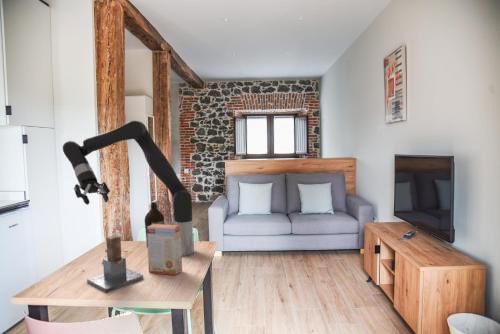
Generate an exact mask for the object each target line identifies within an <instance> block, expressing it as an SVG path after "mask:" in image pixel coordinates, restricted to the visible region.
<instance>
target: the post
mask: <svg viewBox="0 0 500 334" xmlns="http://www.w3.org/2000/svg"><path fill="white" fill-rule="evenodd" d="M105 239H106V248H107V252H106V255H107V260H110V261H114V260H118V259H121V256H122V240H121V236H119V235H117V234H116V235H114V234H113V235H110V236H107V237H105Z"/></svg>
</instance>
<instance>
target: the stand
mask: <svg viewBox="0 0 500 334" xmlns="http://www.w3.org/2000/svg"><path fill="white" fill-rule="evenodd" d="M104 258H105V257H104ZM104 258H103V260H102V261H103V264H102V266H103V273H100V274H98V275H94V276H91V277H88V278H86V283H88V284H89V285H91V286H93V287H95V288H96V289H98V290H101V291H102V292H104V293H106V294H107V293H110V292H112V291H115V290H118V289H120V288H123V287H126V286H128V285H130V284H133V283H136V282H138V281H141V280H143V279H144V275H143V274H141V273H139V272H137V271H135V270H132V269H129V268H127V259H126V257H125V256H122V255H121V259H118V260H114V261H110V260H107V258H105V259H104Z"/></svg>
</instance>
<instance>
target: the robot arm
mask: <svg viewBox="0 0 500 334" xmlns="http://www.w3.org/2000/svg"><path fill="white" fill-rule="evenodd" d="M128 140H134V141H135V142H136V143H137V144H138V146H139V147H140V148H141V150H142V152H143V155H144V157H145V160H146V162H147V164H148V166H149V168H150V169H151V171H152V172H153V174H154V175H155V176H156V177H157V178H158V180H159V181H161V183H163V185H165V187H166V188H167V189H168V191H169V192H170V194H171V195H172V198H173V199H172V200H173V201H172V203H173V205H172V206H173V222H174V224H173V225H179V226H181V253H182V257H184V256H185V257H186V256H190V255H193V254H194V251H195V236H194V234H195V233H193V232H194V231H193V230H194V228H193V199H192V198H193V197H192V194H191V192H190V191H189V190H188V189H187V188H186V187H185V185H184V184H183V183H182V182H181V180H180V179H179V178H178V177H179V176H178V175H177V173H176V172H175V170H174V167H172V165H171V163H170V162H169V160H168V159H167V157H166V156H165V155H164V154H165V153H163V151H162V150H161V149H160V147H159V146H158V145H157V144H156V143H155V141H154V140H153V138H152V136H151V134H150V132H149V130H148V129H147V126H146V125H145V123H143V122H142V121H138V120H130V121H128V122H127V123H125V124H123V125H121V126H119V127H117V128H114V129H112V130H109V131H105V132H102V133H99V134H96V135H93V136H90V137H87V138H85V139H84V140H83V141H82V144H83V145H80V144H79V143H78V142H76V141H74V140H68V141H65V142H64V143H63V146H62V151H63V154H64V155H65V157H66V159H67V160H68V162H69V163H70V164H71V166H72V168H73V171H74V174H75V177H76V179H77V182H78V183H76V184H75V185H74V187H73V190H74V193H75V197H76V198H77V199H80V198H81V199H82V201H83V202H84V204H85V205H86V206H89V204H90V199H89V197H88V195H87V194H94V193H95V194H97V195H100V196H102V198H103V200H104V203H108V201H109V200H110V198H109V196H108V195H109V193H110V192H111V190H110V188H109V187H108V184H107V182H105V181H103V182H102V183H100V182H98V179H97V177H96V175H95V173H94V170H93V168H92V166H91V165H90V163H89V161H88V159H87V157H86V156H89V155H90V154H92V153H93V152H95V151H99V150H102V149H104V148H107V147H109V146H111V145H114V144H117V143H119V142H123V141H128ZM81 190H82V191H83V193H82V191H81Z"/></svg>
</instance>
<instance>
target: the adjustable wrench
mask: <svg viewBox="0 0 500 334" xmlns="http://www.w3.org/2000/svg"><path fill="white" fill-rule="evenodd" d="M104 251H105V252H106V253H107V247H106V248H105V250H104ZM105 258H107V254H105V256H104V258H103V259H105ZM101 264H102V265H103V260H102V261H101Z"/></svg>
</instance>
